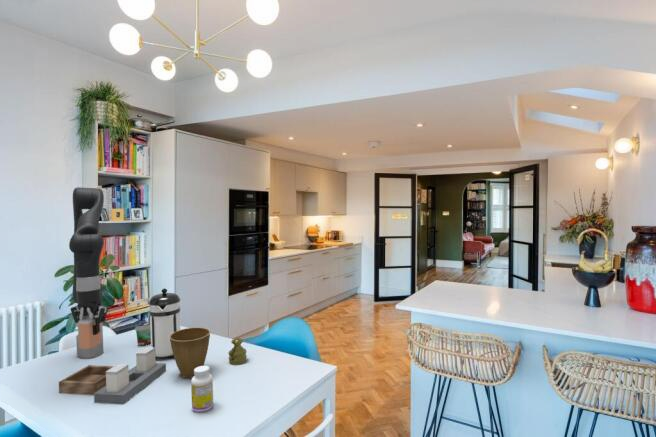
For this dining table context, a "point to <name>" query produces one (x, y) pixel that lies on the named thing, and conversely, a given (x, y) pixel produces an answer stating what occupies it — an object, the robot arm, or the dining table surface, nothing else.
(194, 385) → the supplement bottle
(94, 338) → the block
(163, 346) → the coffee press
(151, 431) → the dining table surface
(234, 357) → the olive green lumpy piece
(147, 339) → the food container
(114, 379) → the block
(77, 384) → the tray
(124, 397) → the frame
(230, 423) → the dining table surface
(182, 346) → the plant pot
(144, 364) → the block
